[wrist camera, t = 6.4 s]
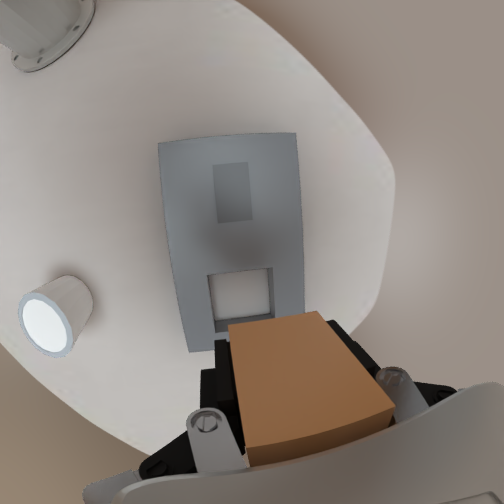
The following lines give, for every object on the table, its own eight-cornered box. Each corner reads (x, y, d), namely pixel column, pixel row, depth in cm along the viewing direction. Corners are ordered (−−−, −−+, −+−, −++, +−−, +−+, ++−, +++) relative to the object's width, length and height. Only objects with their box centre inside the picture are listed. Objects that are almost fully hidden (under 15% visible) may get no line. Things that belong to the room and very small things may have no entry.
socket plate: (162, 147, 23) (157, 143, 20) (288, 137, 25) (296, 132, 22) (190, 339, 28) (188, 353, 25) (297, 325, 29) (305, 337, 27)
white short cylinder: (51, 261, 24) (16, 281, 17) (101, 281, 25) (74, 309, 18) (48, 313, 25) (19, 341, 18) (95, 334, 26) (73, 368, 19)
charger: (227, 324, 11) (255, 498, 4) (316, 310, 12) (424, 440, 4) (238, 391, 12) (265, 535, 5) (315, 377, 13) (383, 500, 5)
